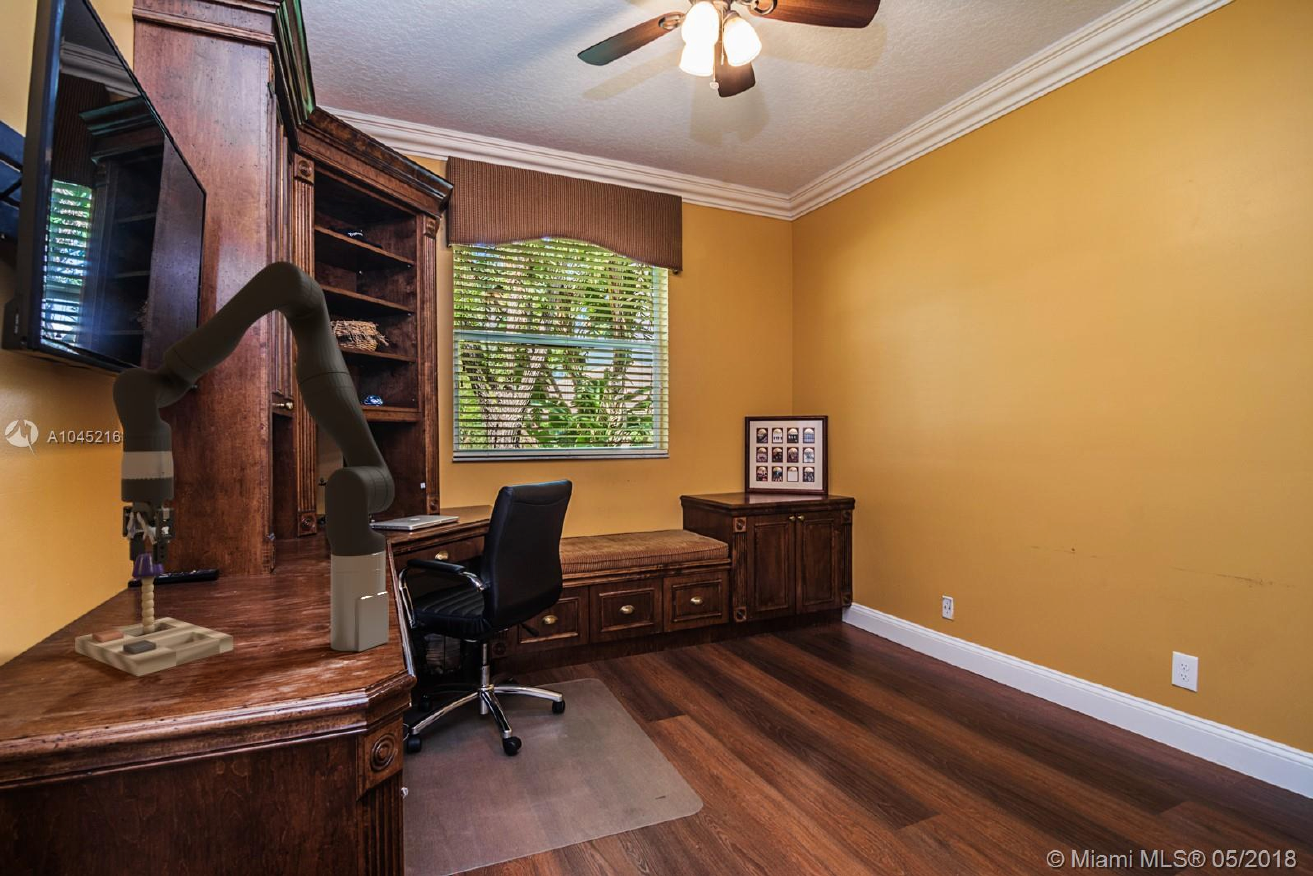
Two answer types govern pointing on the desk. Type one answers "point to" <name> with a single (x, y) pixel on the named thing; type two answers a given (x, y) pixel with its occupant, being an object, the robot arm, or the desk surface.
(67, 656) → the desk surface
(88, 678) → the desk surface
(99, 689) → the desk surface
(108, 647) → the socket board
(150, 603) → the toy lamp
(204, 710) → the desk surface
